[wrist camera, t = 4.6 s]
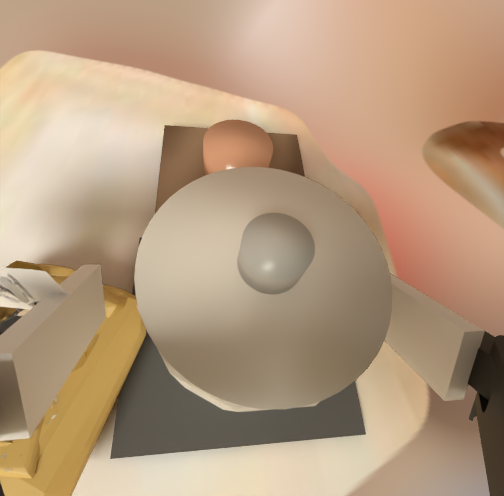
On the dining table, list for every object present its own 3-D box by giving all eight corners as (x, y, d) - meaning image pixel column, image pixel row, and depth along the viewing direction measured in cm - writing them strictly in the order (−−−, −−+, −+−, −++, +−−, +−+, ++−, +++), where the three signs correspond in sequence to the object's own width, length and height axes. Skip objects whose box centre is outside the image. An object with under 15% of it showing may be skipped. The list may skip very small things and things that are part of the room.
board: (293, 144, 29) (296, 135, 28) (309, 232, 24) (314, 224, 23) (166, 136, 27) (164, 125, 26) (156, 229, 22) (154, 220, 21)
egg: (263, 151, 26) (269, 122, 23) (268, 198, 23) (276, 172, 21) (203, 147, 25) (203, 117, 22) (202, 195, 23) (202, 168, 20)
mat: (323, 243, 24) (325, 240, 23) (361, 433, 17) (365, 434, 17) (141, 240, 21) (139, 237, 21) (113, 457, 15) (110, 458, 15)
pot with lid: (300, 260, 22) (375, 147, 12) (322, 402, 18) (466, 396, 8) (171, 260, 20) (142, 131, 11) (160, 414, 16) (95, 425, 6)
